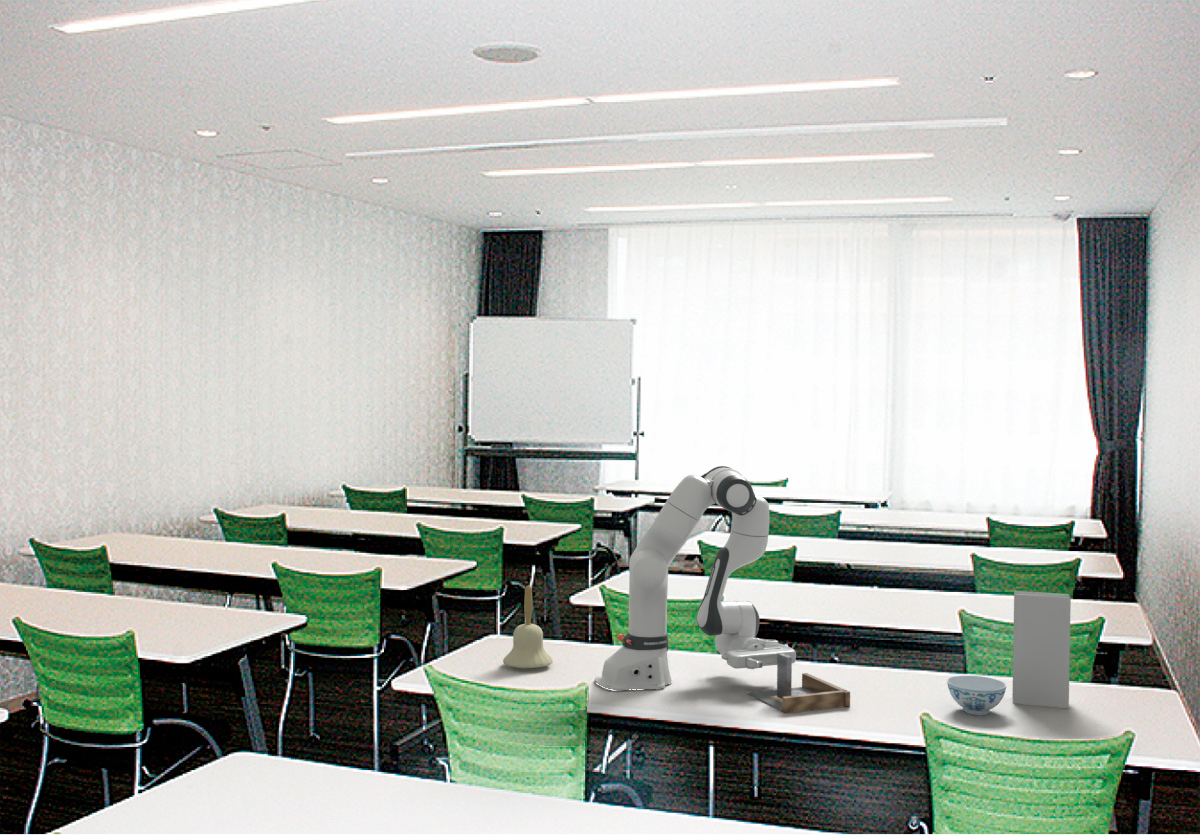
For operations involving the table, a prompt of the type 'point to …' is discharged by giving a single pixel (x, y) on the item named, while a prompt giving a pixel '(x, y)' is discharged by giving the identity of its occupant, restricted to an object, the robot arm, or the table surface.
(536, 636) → the handbell
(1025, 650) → the tall grey block
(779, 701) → the mat
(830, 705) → the brown wooden corner frame
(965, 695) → the chinaware
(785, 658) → the bracket
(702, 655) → the table surface
